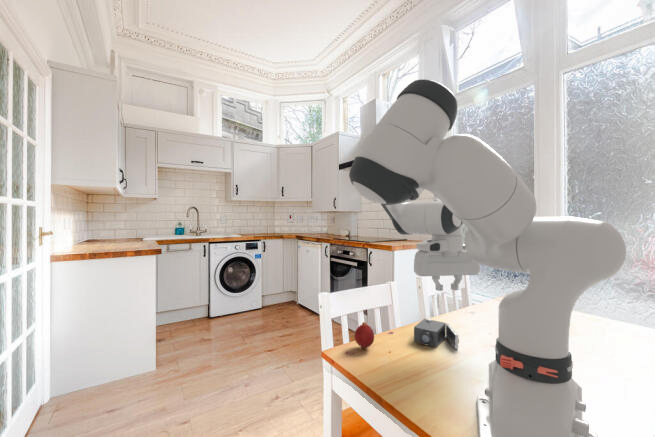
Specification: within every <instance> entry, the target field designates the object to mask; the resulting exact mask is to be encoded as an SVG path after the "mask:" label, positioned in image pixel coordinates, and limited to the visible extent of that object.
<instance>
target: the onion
mask: <svg viewBox="0 0 655 437" xmlns="http://www.w3.org/2000/svg"><path fill="white" fill-rule="evenodd" d="M354 332H355V333H354V340H355V342H356V344H358V346H360V348H361V349H362V350H366V349H368V348H369V347H370V346H372V344H373V343H374V341H375V333H374V330H373V329H372V327H371V326H369V325H368V324H367V322H365V321H363V322H362V324H361V325H359V326H358V327H357V328H356V330H355V331H354Z"/></svg>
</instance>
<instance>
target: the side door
mask: <svg viewBox="0 0 655 437" xmlns="http://www.w3.org/2000/svg"><path fill="white" fill-rule="evenodd" d="M445 338H446V339H447V340H448V341H449V342H450V343H451V345H452V347H453V348H454V349H455V350H458V349H459V343H460V339H459V334H458V333H456V331H455V329H454V328H453V327H452V326H451V325H450V323H446V337H445Z"/></svg>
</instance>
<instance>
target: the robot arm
mask: <svg viewBox="0 0 655 437" xmlns="http://www.w3.org/2000/svg"><path fill="white" fill-rule="evenodd" d="M458 111H459V103H458V100H457V98H456V96H455V95H454V93H453V92H452V91H451V90H450V89H449V88H448V87H447V86H445V85H444V84H443V83H440V82H439V81H435V80H434V79H417V80H414V81H412V82H410V83H409V84H408V85H407V86H405V87H404V89H403V90H402V91H401V92H400V93H399V94H398V95H397V97H396V100H395V101H394V102H393V104H392V105H391V106H390V107H389V108H388V110H387V111H386V112H385V113H384V115H383V116H382V117H381V119H380V120H379V121H378V123H377V124H375V126H374V127H373V129H372V130H371V132H370V133H368V134H367V135H366V137H364V139H363V140H362V142H361V145H360V147H359V154H358V156H355V158H353V162H352V164H351V167H350V169H349V173H348V177H349V179H350V183H351V184H352V185H353V186H354V188H355V189H356V191H357V192H358V193H359V194H360V195H361V196H362V197H363V198H365V199H366V200H368V201H370V202H372V203H375V204H376V203H377V204H380V205H381V207H382V208H383V210H384V211H385V213H386V214H387V216H388V217H389V218H390V220H391V223H392V225H393V227H394V229H395V230H396V231H397V232H398V233H399V234H400V235H403V236H405V235H406V236H410V235H427V236H429V235H430V236H431V238H429V239H425V240H423V241H419V242H417V243H416V244H415V246H416V250H417V251H416V253H415V254H414V259H413V272H414V273H415V275H416V276H418V277H431V279H432V281H433V283H434V285H435V290H436V291H438V292H439V291H440V292H441V291H443V290H444V284H441V283H440V281H439V280H440V279H441V277H446V276H447V277H449V276H452V277H453V278H454V280H453V283H450V290H452V291H458V290H459V285H460V283H461V281H462V280H463V276H477V275H479V274H480V272H481V269H480V268H481V266H480V265H483V266H485V267H488V268H492V269H495V270H501V271H507V272H513V273H519V274H521V273H522V274H528V275H529V280H528V283H527V286H526V288H524V289H520V290H516V291H514V292H511V293H508V294H507V295H505V296H504V297H503V298H502V299H501V301H500V302H499V305H498V336H497V338H496V340H495V345H494V346H495V347H494V351H495V359H494V360H493V361H491V362H489V363H488V388H485V389H484V394H478V395H477V397H476V398H477V399H476V410H477V424H478V425H477V426H478V437H598V434H597V433H596V432H595V431H593V430H592V429H590V423H589V422H588V421H585V420H584V419H583V412H584V413H586V411H587V410H586V409H587V406H586V405H587V404H586V403H585V402H583V397H582V396H583V392H582V391H583V388H582V386H580V384H578V383H577V382H576V381H575V380H574V379H573V368H574V367H573V366H574V363H573V361H572V360H573V359H572V354H571V352H570V351H569V345H570V342H569V341H570V327H571V326H570V325H571V319H572V318H571V317H572V313H573V310H574V307H575V306H576V303H577V302H578V300H579V299H580V298H581V296H582V295H583V294H585V292H587V290H589V289H590V288H591V287H593V286H595V285H596V284H599V283H601V282H603V281H605V280H607V279H609V278H611V277H612V276H614V275H615V274H616V273H617V272H618V271H620V269H622V266H623V265H624V263H625V261H626V256H627V245H626V243H625V240H624V237H623V236H622V234H621V233H620V231H618V229H617V228H615V226H613V225H612V224H611V223H609V222H608V221H603V220H599V219H598V220H597V219H591V218H584V217H577V216H536V214H537V200H536V197H535V195H534V194H533V192H532V191H531V189H530V188H529V187H528V186H527V184H525V182H524V181H523V180H522V179H521V177H520V176H519V175H518V174H517V172H516V171H515V170H514V169H513V167H512V166H511V165H510V164H509V163H508V162H507V160H506V159H504V158H503V157H502V156H501V155H500V154H499V153H498V152H497V151H495V149H493V148H492V147H491V146H489V145H488V144H487V143H485V142H484V141H482V140H481V139H480V138H478V137H476V136H474V135H471V134H467V133H461V134H454V135H451V136H448V137H446V136H447V135H448V132H450V131H451V130H452V128H453V126H454V124H455V122H456V118H457V116H458ZM424 190H426V191H427V192H430V193H432V194H433V199H432V200H430V201H429V200H428V201H426V200H425V201H415V200H417V199H419V198H420V195H422V193H423V191H424ZM463 224H464V226H465V227H466V228H467V230H466V232H465V235H464V234H463V229H462V226H463Z"/></svg>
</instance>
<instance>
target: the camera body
mask: <svg viewBox="0 0 655 437" xmlns="http://www.w3.org/2000/svg"><path fill="white" fill-rule="evenodd" d="M446 324H447V322H443V321H437V320H434V319H431V318H423V319H422V320H420V321H419V322H418V323H417V324H416V325H415V326H413V342H414V343H418V344H422V345H426V346H430V347H434V348H438V347H439V345H440V344H442V342H443V341H444V340H445V339H446V338H447V337H446Z"/></svg>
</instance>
